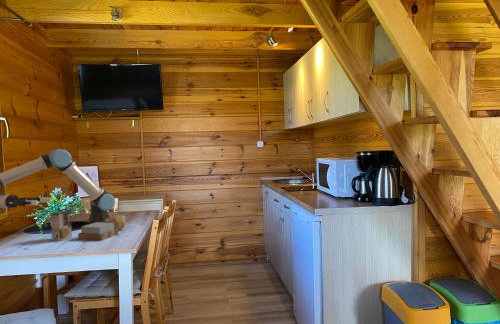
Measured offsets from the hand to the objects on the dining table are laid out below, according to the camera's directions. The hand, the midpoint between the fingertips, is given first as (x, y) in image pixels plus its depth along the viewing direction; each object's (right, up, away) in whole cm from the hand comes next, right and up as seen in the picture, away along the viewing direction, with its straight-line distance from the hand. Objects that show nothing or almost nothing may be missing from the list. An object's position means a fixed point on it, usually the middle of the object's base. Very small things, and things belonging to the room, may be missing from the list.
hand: (44, 201), depth 210 cm
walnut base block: (+30, -23, +5) cm, 38 cm away
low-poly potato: (+33, -22, +23) cm, 46 cm away
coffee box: (+10, -23, +1) cm, 25 cm away
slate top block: (+30, -19, +5) cm, 36 cm away
